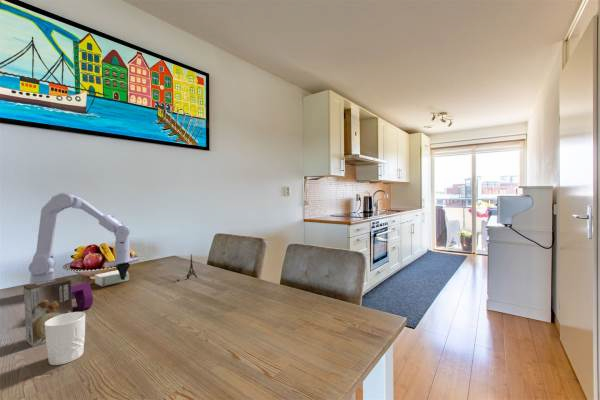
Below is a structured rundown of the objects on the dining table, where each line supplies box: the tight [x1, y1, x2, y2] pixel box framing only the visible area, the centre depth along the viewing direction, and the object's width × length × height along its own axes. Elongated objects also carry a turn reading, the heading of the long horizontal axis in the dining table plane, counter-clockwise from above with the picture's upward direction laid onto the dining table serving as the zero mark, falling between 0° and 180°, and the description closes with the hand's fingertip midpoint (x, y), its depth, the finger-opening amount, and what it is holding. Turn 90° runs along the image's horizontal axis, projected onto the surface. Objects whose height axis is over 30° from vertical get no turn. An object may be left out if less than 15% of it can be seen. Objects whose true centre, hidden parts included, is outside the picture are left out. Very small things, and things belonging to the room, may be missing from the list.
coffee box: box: [23, 277, 73, 348], centre depth 79 cm, size 9×6×16 cm
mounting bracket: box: [71, 281, 94, 310], centre depth 99 cm, size 10×8×18 cm
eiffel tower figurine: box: [185, 253, 198, 279], centre depth 136 cm, size 15×10×13 cm
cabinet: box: [94, 269, 129, 287], centre depth 131 cm, size 8×11×4 cm
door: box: [101, 272, 130, 288], centre depth 127 cm, size 1×11×4 cm, turn 142°
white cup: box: [44, 311, 86, 366], centre depth 69 cm, size 8×8×10 cm
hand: (122, 279), depth 128 cm, fingers closed, pressing on door
